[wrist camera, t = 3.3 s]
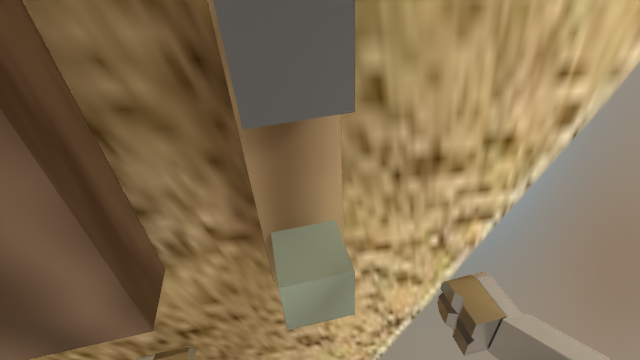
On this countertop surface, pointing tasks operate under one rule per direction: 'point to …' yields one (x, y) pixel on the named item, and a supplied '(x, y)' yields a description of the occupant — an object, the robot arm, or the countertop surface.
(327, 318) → the block
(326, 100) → the block
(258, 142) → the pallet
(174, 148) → the countertop surface
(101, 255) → the block
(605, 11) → the countertop surface
